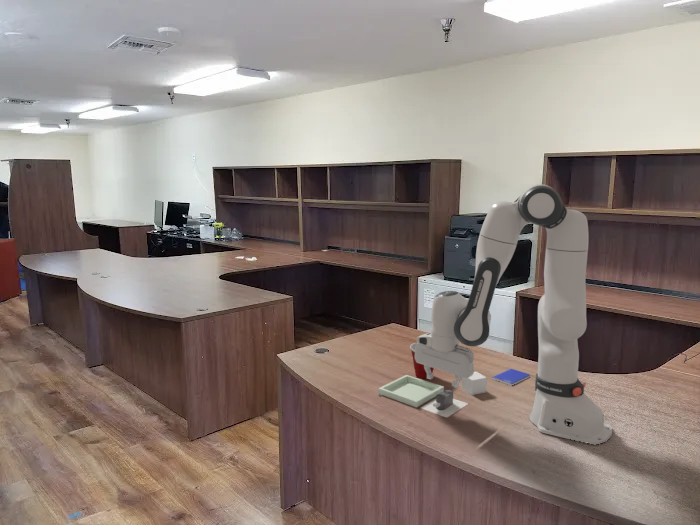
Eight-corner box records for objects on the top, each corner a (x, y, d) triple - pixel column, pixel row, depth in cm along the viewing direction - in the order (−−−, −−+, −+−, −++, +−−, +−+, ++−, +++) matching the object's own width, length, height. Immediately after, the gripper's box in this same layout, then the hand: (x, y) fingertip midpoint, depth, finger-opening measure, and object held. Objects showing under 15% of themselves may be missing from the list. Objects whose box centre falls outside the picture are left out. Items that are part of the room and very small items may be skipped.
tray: (443, 393, 171) (443, 386, 171) (416, 409, 160) (416, 401, 160) (406, 381, 182) (406, 374, 182) (378, 395, 171) (378, 388, 170)
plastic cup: (430, 386, 178) (430, 353, 176) (404, 379, 184) (404, 348, 182) (444, 376, 186) (444, 345, 184) (418, 370, 193) (419, 340, 191)
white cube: (486, 394, 171) (486, 377, 170) (471, 397, 169) (472, 380, 168) (475, 387, 176) (476, 371, 175) (461, 390, 174) (461, 373, 173)
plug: (446, 400, 165) (447, 389, 164) (454, 403, 163) (454, 391, 162) (430, 410, 158) (431, 398, 157) (438, 413, 156) (439, 401, 155)
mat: (468, 405, 162) (468, 403, 162) (446, 419, 153) (446, 417, 153) (442, 396, 169) (442, 394, 169) (420, 409, 160) (420, 407, 160)
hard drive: (511, 383, 177) (530, 374, 185) (491, 376, 183) (510, 368, 191) (511, 387, 177) (529, 378, 185) (491, 380, 183) (510, 372, 191)
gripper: (479, 347, 153) (476, 389, 155) (423, 332, 167) (422, 371, 169) (468, 352, 148) (465, 395, 151) (412, 336, 162) (411, 376, 164)
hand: (442, 382), depth 160 cm, fingers open, 8 cm apart
